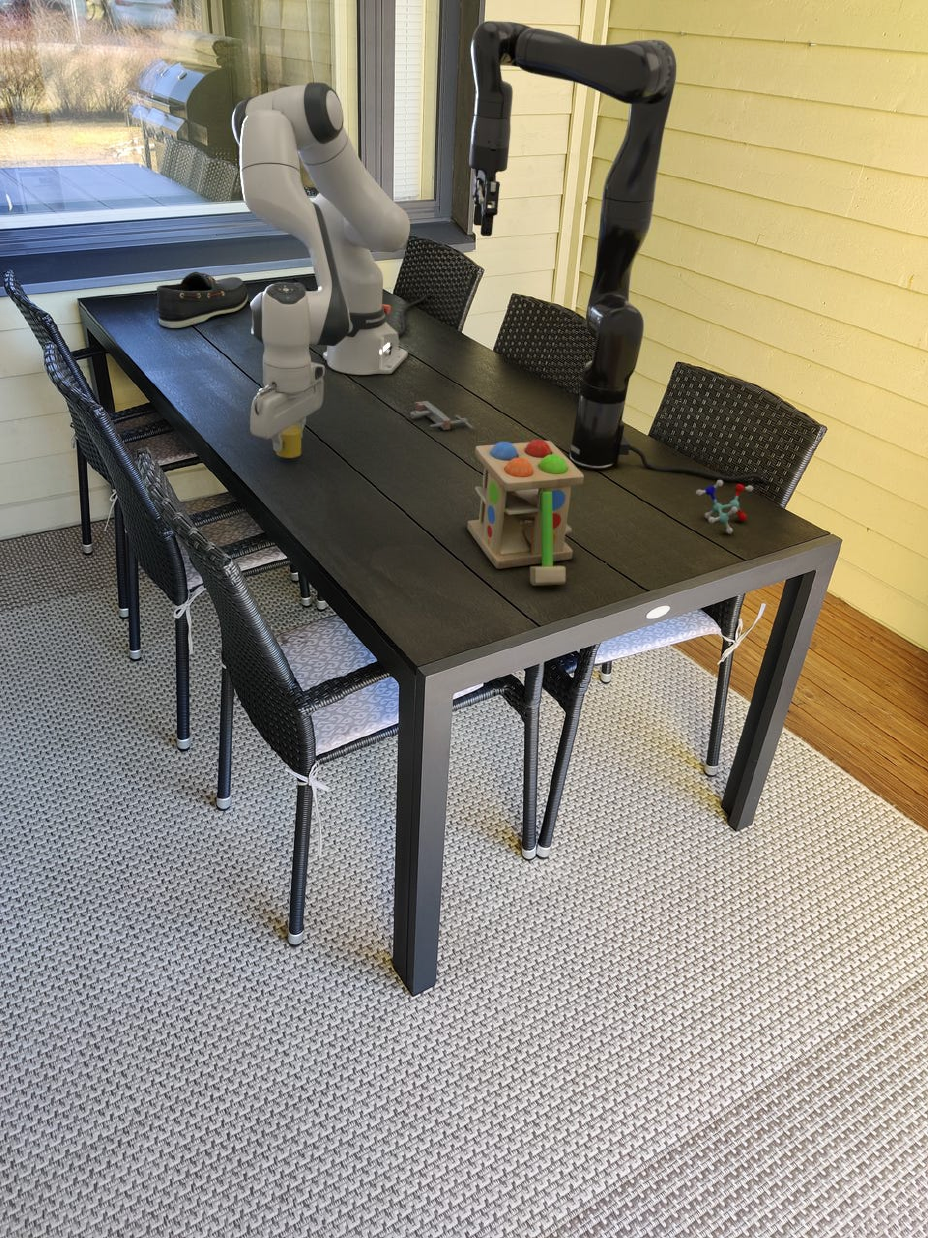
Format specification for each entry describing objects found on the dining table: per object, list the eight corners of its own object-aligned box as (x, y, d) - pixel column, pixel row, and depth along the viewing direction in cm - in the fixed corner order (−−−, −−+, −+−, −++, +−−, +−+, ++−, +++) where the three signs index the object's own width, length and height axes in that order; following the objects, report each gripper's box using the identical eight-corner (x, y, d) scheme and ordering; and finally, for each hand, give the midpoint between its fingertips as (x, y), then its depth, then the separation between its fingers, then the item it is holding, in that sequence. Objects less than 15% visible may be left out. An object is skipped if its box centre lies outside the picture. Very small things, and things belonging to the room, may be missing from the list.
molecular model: (759, 527, 176) (743, 474, 175) (707, 542, 180) (691, 490, 179) (762, 518, 187) (747, 467, 185) (712, 532, 190) (698, 483, 189)
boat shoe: (266, 306, 270) (264, 267, 265) (176, 330, 246) (172, 288, 241) (231, 297, 276) (229, 259, 270) (140, 320, 252) (135, 279, 246)
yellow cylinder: (275, 457, 189) (275, 434, 186) (275, 447, 193) (275, 424, 190) (301, 458, 189) (301, 435, 187) (300, 447, 193) (300, 424, 191)
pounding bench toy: (594, 585, 162) (612, 488, 152) (515, 596, 157) (528, 496, 147) (538, 519, 179) (551, 428, 169) (466, 527, 175) (475, 434, 165)
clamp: (402, 403, 214) (442, 397, 219) (402, 412, 215) (442, 407, 220) (435, 430, 204) (476, 423, 208) (434, 439, 205) (475, 433, 209)
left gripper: (269, 396, 173) (271, 467, 181) (329, 364, 189) (329, 430, 197) (240, 388, 175) (243, 459, 183) (301, 357, 191) (302, 423, 199)
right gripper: (464, 134, 194) (458, 220, 203) (477, 147, 182) (469, 238, 191) (501, 137, 195) (493, 222, 204) (516, 149, 183) (507, 240, 193)
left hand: (288, 444), depth 190 cm, fingers closed on yellow cylinder, 5 cm apart
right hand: (482, 230), depth 198 cm, fingers open, 8 cm apart
